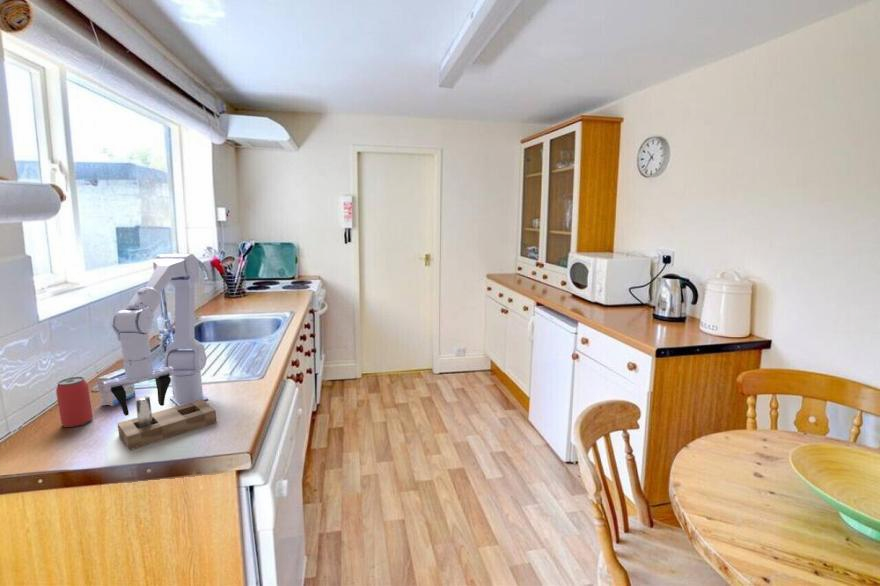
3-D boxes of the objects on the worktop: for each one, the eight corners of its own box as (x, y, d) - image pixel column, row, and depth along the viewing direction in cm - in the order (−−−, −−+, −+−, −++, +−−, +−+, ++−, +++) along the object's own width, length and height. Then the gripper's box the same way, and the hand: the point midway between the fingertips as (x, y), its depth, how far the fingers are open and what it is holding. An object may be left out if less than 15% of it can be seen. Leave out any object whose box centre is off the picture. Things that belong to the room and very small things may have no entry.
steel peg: (138, 435, 114) (133, 398, 112) (152, 431, 116) (147, 395, 114) (142, 439, 112) (137, 402, 110) (155, 435, 114) (151, 398, 112)
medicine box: (113, 406, 131) (109, 378, 129) (100, 405, 132) (96, 377, 130) (136, 396, 138) (132, 369, 137) (124, 394, 139) (120, 368, 138)
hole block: (119, 436, 114) (117, 423, 113) (203, 410, 128) (201, 399, 127) (129, 450, 107) (127, 436, 106) (216, 422, 121) (215, 410, 121)
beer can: (86, 415, 126) (80, 374, 123) (97, 420, 122) (91, 378, 120) (57, 424, 120) (50, 382, 118) (68, 430, 117) (61, 387, 115)
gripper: (104, 369, 102) (112, 424, 105) (175, 354, 113) (181, 404, 115) (98, 361, 107) (106, 414, 110) (166, 348, 117) (172, 397, 120)
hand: (144, 409), depth 113 cm, fingers open, 7 cm apart
